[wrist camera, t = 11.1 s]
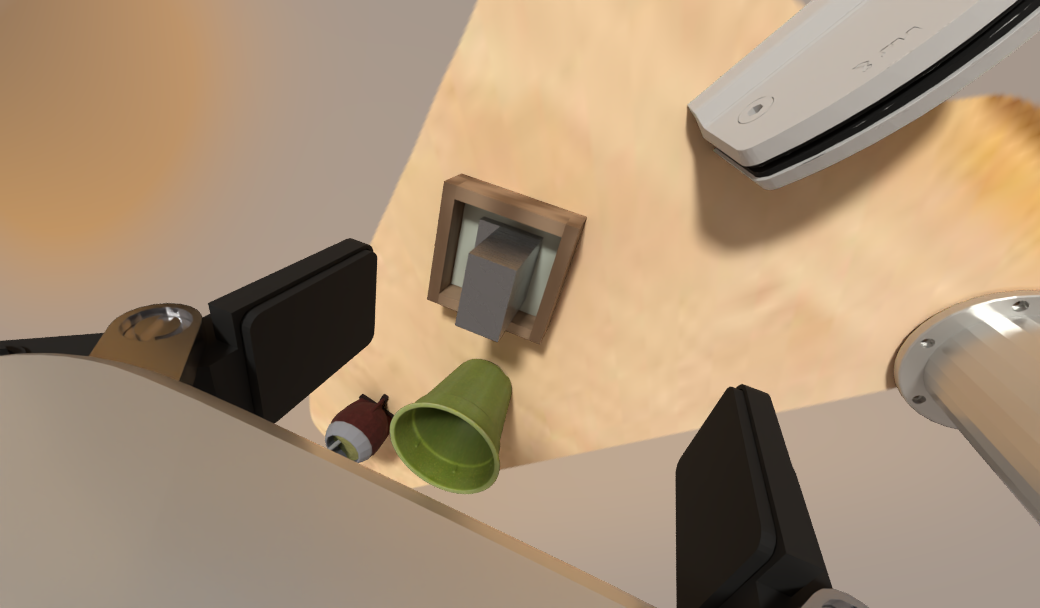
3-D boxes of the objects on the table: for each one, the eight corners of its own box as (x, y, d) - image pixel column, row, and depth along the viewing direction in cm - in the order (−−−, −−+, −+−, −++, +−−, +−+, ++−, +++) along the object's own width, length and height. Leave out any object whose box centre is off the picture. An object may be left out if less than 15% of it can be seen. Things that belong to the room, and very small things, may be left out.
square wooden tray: (586, 217, 36) (579, 229, 33) (548, 326, 43) (539, 344, 40) (461, 173, 38) (444, 181, 35) (443, 284, 45) (427, 299, 42)
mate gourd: (408, 408, 56) (333, 501, 43) (390, 436, 60) (317, 529, 48) (363, 377, 56) (276, 461, 43) (348, 408, 60) (265, 493, 48)
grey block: (543, 237, 37) (516, 270, 31) (525, 300, 41) (497, 342, 34) (483, 216, 38) (445, 244, 31) (471, 279, 42) (434, 316, 35)
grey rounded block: (961, -125, 22) (1168, -154, 14) (981, -45, 24) (1171, -34, 17) (682, 108, 31) (723, 165, 23) (714, 153, 33) (761, 217, 25)
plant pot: (545, 416, 49) (516, 496, 40) (462, 421, 54) (419, 493, 44) (511, 333, 45) (470, 399, 35) (426, 346, 50) (369, 408, 40)
